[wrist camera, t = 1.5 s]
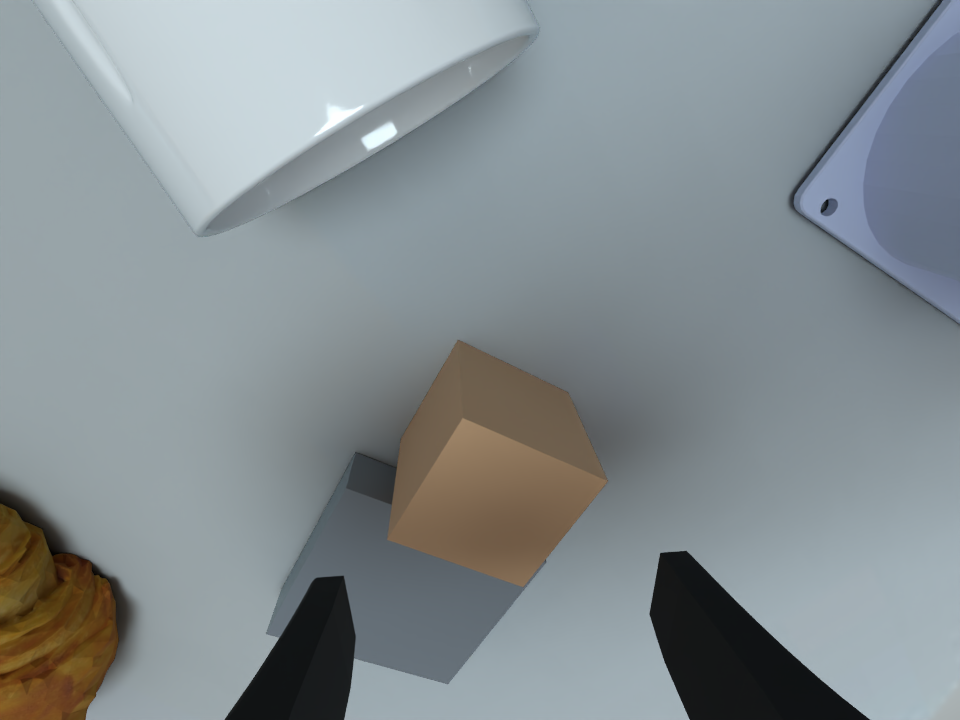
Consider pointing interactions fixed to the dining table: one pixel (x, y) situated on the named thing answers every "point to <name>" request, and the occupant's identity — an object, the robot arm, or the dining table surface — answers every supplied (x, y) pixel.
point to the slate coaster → (394, 583)
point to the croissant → (50, 627)
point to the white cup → (277, 85)
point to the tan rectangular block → (492, 468)
